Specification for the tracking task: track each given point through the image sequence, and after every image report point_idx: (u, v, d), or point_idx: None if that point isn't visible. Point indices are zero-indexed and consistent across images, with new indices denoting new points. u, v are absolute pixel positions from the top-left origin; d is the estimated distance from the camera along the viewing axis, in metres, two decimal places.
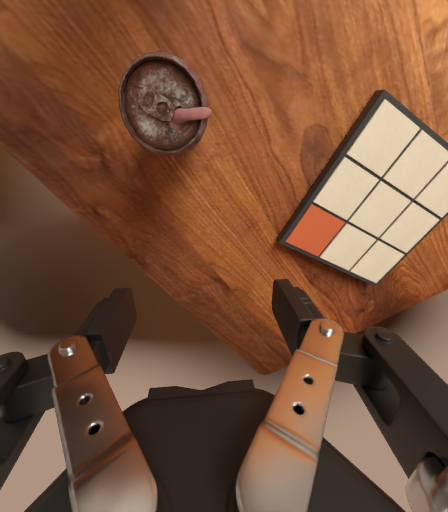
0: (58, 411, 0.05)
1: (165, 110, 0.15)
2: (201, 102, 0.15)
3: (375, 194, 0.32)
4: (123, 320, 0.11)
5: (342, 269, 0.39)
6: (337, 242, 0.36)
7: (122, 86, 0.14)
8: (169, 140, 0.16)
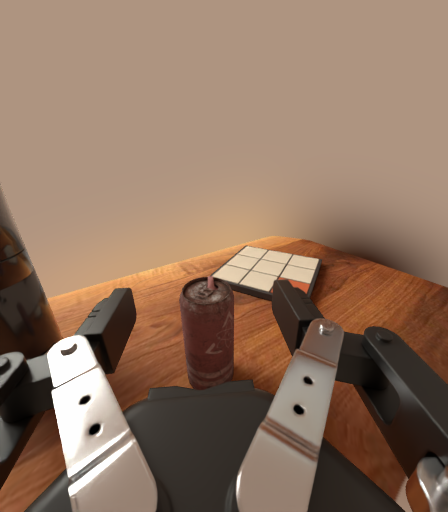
0: (58, 411, 0.05)
1: (207, 290, 0.25)
2: (205, 277, 0.27)
3: (259, 270, 0.54)
4: (123, 320, 0.11)
5: (315, 273, 0.53)
6: (294, 278, 0.51)
7: (192, 302, 0.23)
8: (223, 290, 0.25)
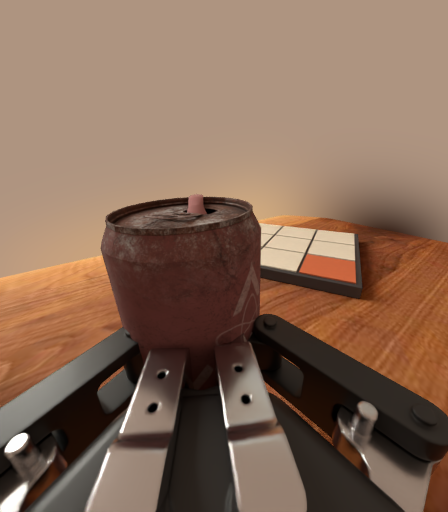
0: (143, 371, 0.06)
1: (185, 215, 0.09)
2: (184, 198, 0.11)
3: (275, 246, 0.38)
4: None
5: (356, 249, 0.37)
6: (329, 254, 0.35)
7: (128, 229, 0.07)
8: (231, 213, 0.09)
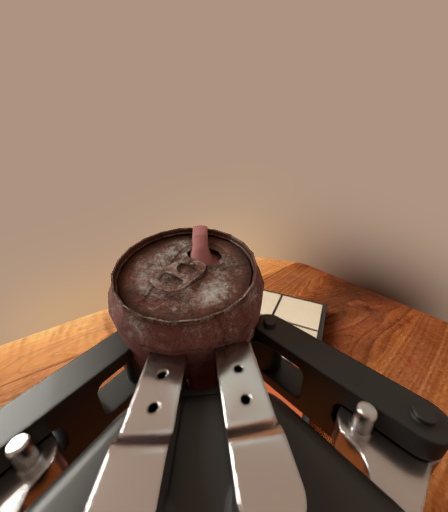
0: (143, 371, 0.06)
1: (190, 267, 0.09)
2: (187, 228, 0.11)
3: None
4: None
5: (319, 338, 0.31)
6: None
7: (136, 313, 0.07)
8: (235, 267, 0.09)
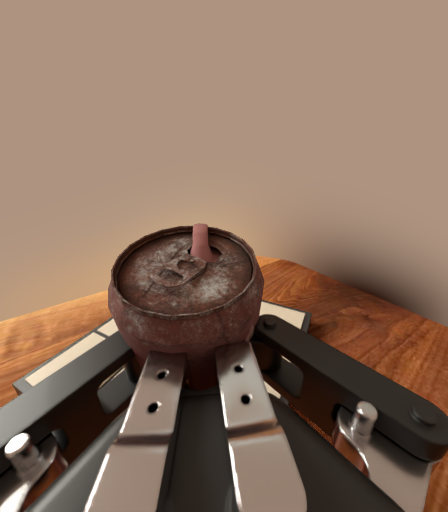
0: (143, 371, 0.06)
1: (190, 264, 0.09)
2: (188, 226, 0.11)
3: None
4: None
5: (294, 364, 0.21)
6: None
7: (136, 307, 0.07)
8: (235, 264, 0.09)
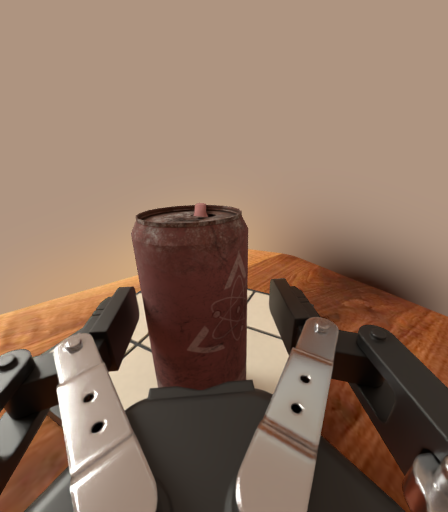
0: (62, 408, 0.06)
1: (192, 217, 0.12)
2: None
3: None
4: (127, 319, 0.11)
5: None
6: None
7: (154, 223, 0.10)
8: (226, 216, 0.12)
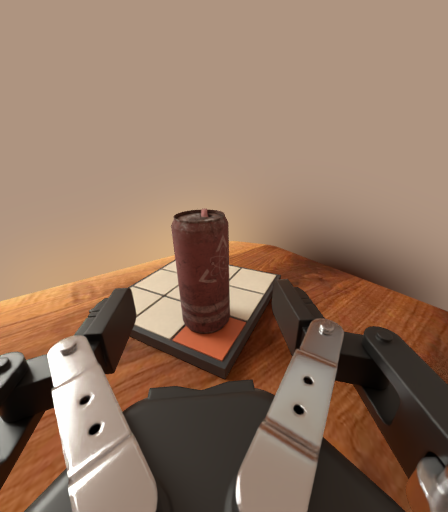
0: (58, 411, 0.05)
1: (200, 217, 0.24)
2: (199, 210, 0.27)
3: (177, 295, 0.35)
4: (123, 320, 0.11)
5: (263, 299, 0.34)
6: None
7: (184, 221, 0.22)
8: (217, 217, 0.24)
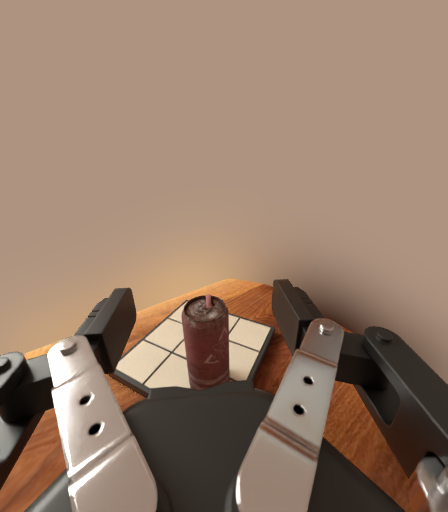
0: (58, 411, 0.05)
1: (205, 308, 0.29)
2: None
3: (183, 352, 0.40)
4: (123, 320, 0.11)
5: (258, 358, 0.39)
6: None
7: (193, 319, 0.27)
8: (219, 308, 0.29)
